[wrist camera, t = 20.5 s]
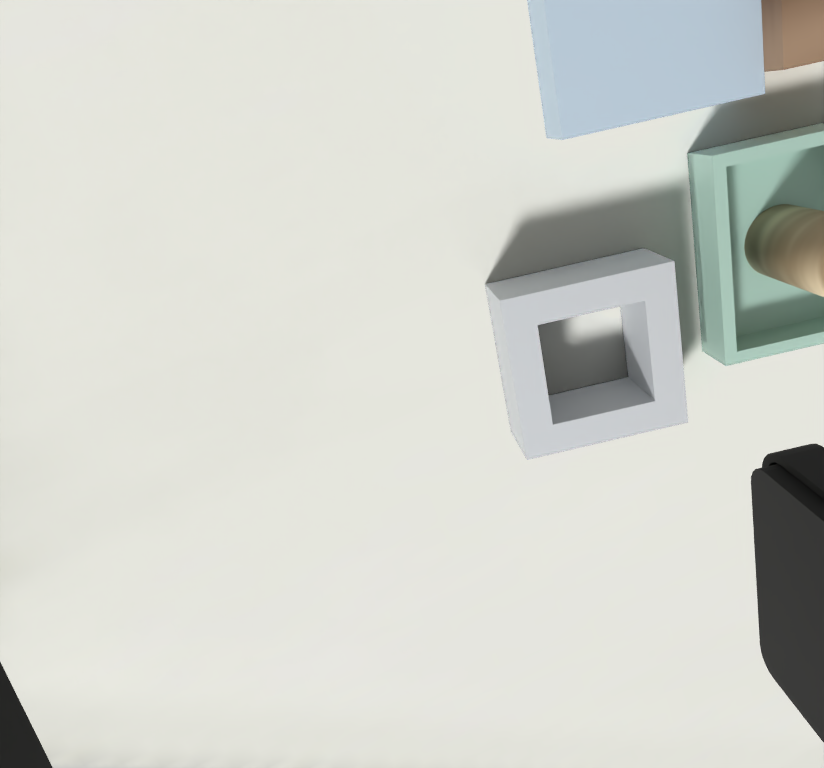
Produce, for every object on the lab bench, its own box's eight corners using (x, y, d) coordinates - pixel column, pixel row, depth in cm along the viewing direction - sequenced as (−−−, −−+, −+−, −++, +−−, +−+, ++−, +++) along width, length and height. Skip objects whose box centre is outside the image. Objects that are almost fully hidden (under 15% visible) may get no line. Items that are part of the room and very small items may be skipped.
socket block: (485, 284, 37) (499, 300, 34) (644, 248, 37) (674, 260, 34) (510, 431, 40) (526, 459, 36) (658, 396, 40) (688, 422, 37)
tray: (687, 153, 36) (712, 156, 33) (850, 116, 36) (886, 116, 34) (702, 351, 39) (725, 366, 37) (851, 316, 39) (884, 329, 37)
